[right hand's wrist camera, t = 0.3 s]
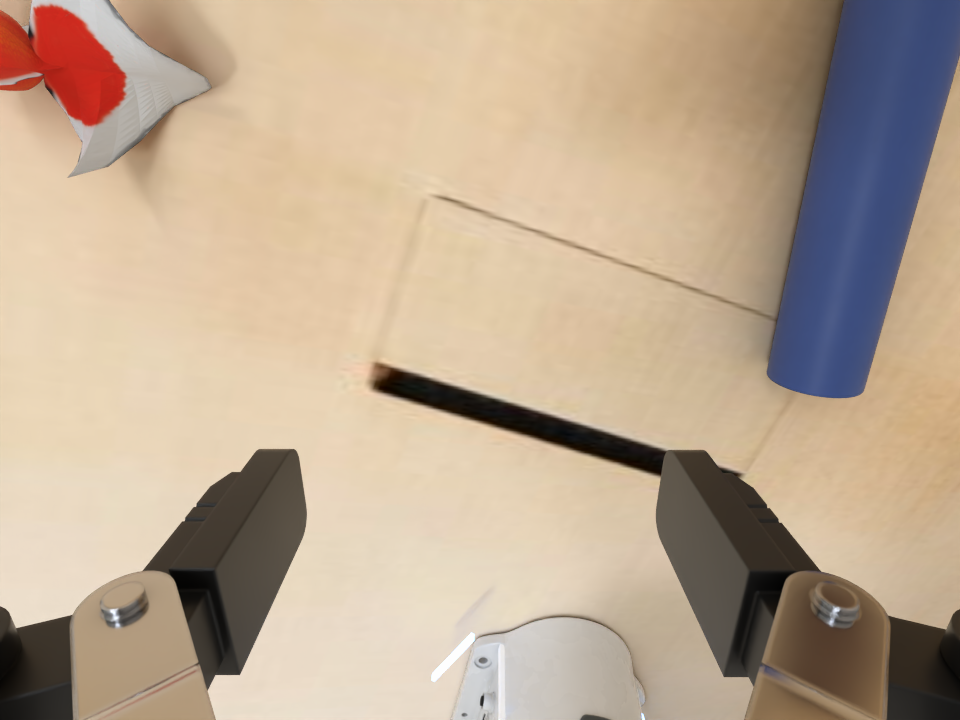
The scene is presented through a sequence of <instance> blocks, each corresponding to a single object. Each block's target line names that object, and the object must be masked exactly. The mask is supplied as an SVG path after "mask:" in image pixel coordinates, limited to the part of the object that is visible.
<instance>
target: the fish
mask: <svg viewBox="0 0 960 720" xmlns="http://www.w3.org/2000/svg"><path fill="white" fill-rule="evenodd" d="M43 78H44V82H45V86H46V88H47V90H48V91H49V92H50V94H51V95H52V96H53V97H54V99H55V100H56V101H57V102H58V104H59V105H60V106H61V108H62V109H63V110H64V111H65V113H66V114H67V115H68V117H69V119H70V122H71V124H72V126H73V128H74V129H75V131H76V133H77V134H78V136H79V138H80V139H81V141H82V149H81V153H80V156H79V160H78V164H77V166H76V167H75V169H74V171H73V172H72V173H71V174H70V175H69V176H68V177H72V176H76V175H79V174H83V173H86V172H90V171H94V170H97V169H101V168H105V167H108V166H110V165H111V164H112V163H113V162H115V161H116V160H117V159H118V158H120V157H121V156H122V155H124V154H125V153H126V152H127V151H129V150H130V149H131V148H132V147H134V146H135V145H136V144H137V143H139V142H140V141H141V140H142V139H143V138H144V137H145V136H146V135H147V134H148V132H149V131H150V130H151V129H152V128H153V127H154V126H155V125H156V124H157V123H158V122H159V121H160V120H161V119H162V118H163V117H164V116H165V115H166V114H167V113H168V112H169V111H170V110H171V109H172V108H173V107H174V106H176V105H178V104H180V103H183V102H185V101H187V100H189V99H191V98H193V97H195V96H197V95H199V94H202V93H204V92H206V91H208V90H209V89H210V88H211V85H210V83H209V81H208V79H207V78H206V77H204V76H202V75H201V74H199V73H197V72H195V71H193V70H192V69H190V68H188V67H186V66H184V65H182V64H180V63H179V62H177V61H175V60H173V59H172V58H170V57H168V56H166V55H164V54H163V53H161V52H159V51H157V50H155V49H153V48H152V47H150V46H148V45H147V44H146V43H145V42H144V41H143V40H142V39H141V38H140V37H139V36H138V35H137V34H136V33H135V32H134V31H133V30H132V29H130V28H129V26H128V25H127V24H126V22H125V21H124V20H123V18H122V17H121V16H120V14H119V13H118V12H117V10H116V9H115V8H114V6H113V5H112V4H111V2H110V1H109V0H32V4H31V12H30V20H29V25H26V26H23V27H21V26H20V25H19V23H18V22H17V21H15V20H14V19H13V18H12V17H10V16H9V15H7V14H6V13H4V12H3V11H1V10H0V90H9V91H24V90H29V89H31V88H33V87H34V86H36V85H37V84H38V83H40V82H41V80H42V79H43Z"/></svg>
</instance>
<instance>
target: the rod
mask: <svg viewBox="0 0 960 720" xmlns="http://www.w3.org/2000/svg"><path fill="white" fill-rule="evenodd" d="M959 56H960V0H844V3H843V8H842V13H841V18H840V22H839V27H838V32H837V37H836V42H835V46H834V51H833V56H832V61H831V66H830V70H829V75H828V80H827V85H826V90H825V94H824V99H823V104H822V109H821V114H820V118H819V123H818V128H817V133H816V138H815V142H814V147H813V152H812V157H811V162H810V166H809V171H808V176H807V181H806V186H805V190H804V195H803V200H802V205H801V210H800V214H799V219H798V224H797V229H796V234H795V238H794V243H793V248H792V253H791V258H790V262H789V267H788V272H787V277H786V281H785V286H784V291H783V296H782V301H781V305H780V310H779V315H778V320H777V325H776V329H775V334H774V339H773V344H772V349H771V353H770V358H769V363H768V368H767V375H768V377H769V378H770V379H771V380H772V381H773V382H775V383H777V384H778V385H780V386H783V387H785V388H787V389H790V390H793V391H796V392H800V393H804V394H808V395H813V396H819V397H827V398H849V397H855V396H858V395H860V394H861V393H863V391H864V389H865V385H866V382H867V378H868V375H869V371H870V368H871V364H872V361H873V357H874V354H875V350H876V347H877V343H878V340H879V336H880V333H881V329H882V326H883V322H884V319H885V315H886V312H887V308H888V305H889V301H890V298H891V294H892V291H893V287H894V284H895V280H896V277H897V273H898V270H899V266H900V263H901V259H902V256H903V252H904V249H905V245H906V242H907V238H908V235H909V231H910V228H911V224H912V221H913V217H914V214H915V210H916V207H917V203H918V200H919V196H920V193H921V189H922V186H923V182H924V179H925V175H926V172H927V168H928V165H929V161H930V158H931V154H932V151H933V147H934V144H935V140H936V137H937V133H938V130H939V126H940V123H941V119H942V116H943V112H944V109H945V105H946V102H947V98H948V95H949V91H950V88H951V84H952V81H953V77H954V74H955V70H956V67H957V63H958V60H959Z"/></svg>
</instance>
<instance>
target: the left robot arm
mask: <svg viewBox="0 0 960 720" xmlns="http://www.w3.org/2000/svg"><path fill="white" fill-rule="evenodd" d="M473 641H474V634H473V633H471V634H470V635H469V636H468V637H467V638H466V639H465V640H464V641H463V642H462V643H461V644H460V645H459V646H458V647H457V648H456V649H455V650H454V652H453V653H452V654H451V655H450V656H449V657H448V658H447V659H446V660H445V661H444V662H443V663H442V664H441V665H440V666H439V667H438V668H437V669H436V670H435V671H434V672H433V673H432V680H433V681H435V680H436V679H437V678H438V677H439V676H440V675H441V674H442V673H443V672H444V671H445V670H446V669H447V668H448V667H449V666H450V665H451V664H452V663H453V662H454V661H455V660H456V659H457V658H458V657H459V656H460V655H461V654H462V653H463V652H464V651H465V650H466V648H467V647H468V646H469V645H470V644H471V643H472V642H473ZM644 703H645V694H644V689H643V687H642V685H641V684H640V682H639V681H638V680H637V678H636V677H635V676H634V673H633V667H632V659H631V655H630V652H629V649H628V648H627V646H626V644H625V643H624V642H623V640H622V639H621V638H620V637H619V636H618V635H617V634H616V633H614V632H613V631H611V630H610V629H608V628H607V627H605V626H603V625H600V624H598V623H595V622H593V621H589V620H585V619H580V618H572V617H556V618H547V619H542V620H538V621H534V622H531V623H528V624H526V625H524V626H521V627H519V628H517V629H515V630H513V631H510V632H507V633H502V634H493V635H487V636H482V637H480V638H478V639H476V640H475V641H474V643H473V646H472V649H471V653H470V656H469V659H468V663H467V666H466V670H465V673H464V676H463V680H462V683H461V687H460V690H459V693H458V697H457V700H456V703H455V707H454V710H453V714H452V717H451V720H645V719H644V716H643V714H642V710H641V706H642V705H643V704H644Z"/></svg>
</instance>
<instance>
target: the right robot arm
mask: <svg viewBox="0 0 960 720" xmlns="http://www.w3.org/2000/svg"><path fill="white" fill-rule="evenodd" d="M306 519H307V510H306V502H305V495H304V488H303V482H302V475H301V468H300V461H299V456H298V453H297V452H296V450H294V449H259V450H257V451H256V452H255V453H254V455H253V456H252V457H251V459H250V460H249V461H248V463H247V464H246V465H245V467H244V468H243V469H242V471H241V472H231V473H230V474H228V475H227V476H225V477H224V478H222V479H221V480H219V481H218V482H217V483H215V484H214V485H212V486H211V487H210V488H209V489H208V490H207V491H206V493H205V494H204V495H203V496H202V498H201V499H200V500H199V501H198V503H197V506H196V507H194V508H193V509H192V510H191V511H190V513H189V514H188V515H187V516H186V518H185V522H182V523H181V524H180V525H179V526H178V528H177V529H176V530H175V531H174V532H173V534H172V535H171V536H170V537H169V539H168V540H167V541H166V542H165V544H164V545H163V546H162V547H161V549H160V550H159V551H158V552H157V554H156V555H155V556H154V557H153V559H152V560H151V561H150V562H149V564H148V565H147V566H146V567H145V569H144V570H143V571H141V572H136V573H131V574H128V575H125V576H122V577H119V578H117V579H115V580H113V581H111V582H109V583H107V584H105V585H103V586H102V587H100V588H98V589H97V590H95V591H94V592H93V593H91V594H90V595H89V596H88V597H87V598H86V599H85V600H83V601H82V602H81V604H80V605H79V606H78V607H77V608H76V610H75V612H74V613H73V615H70V616H66V617H62V618H58V619H54V620H49V621H45V622H41V623H37V624H33V625H28V626H24V627H20V628H16V627H15V625H14V623H13V621H12V618H11V616H10V614H9V612H8V611H7V610H6V609H5V608H3V607H0V720H216V719H215V715H214V712H213V709H212V705H211V702H210V698H209V695H208V689H209V687H210V685H211V683H212V681H213V679H214V677H215V675H240V674H241V671H242V669H243V667H244V665H245V663H246V660H247V658H248V656H249V654H250V652H251V650H252V647H253V645H254V643H255V641H256V639H257V636H258V634H259V632H260V630H261V628H262V626H263V623H264V621H265V619H266V617H267V615H268V612H269V610H270V608H271V606H272V604H273V602H274V599H275V597H276V595H277V593H278V591H279V588H280V586H281V584H282V582H283V580H284V578H285V575H286V573H287V571H288V569H289V567H290V564H291V562H292V560H293V558H294V556H295V554H296V551H297V549H298V547H299V545H300V543H301V540H302V538H303V535H304V532H305V527H306ZM656 524H657V530H658V534H659V537H660V540H661V542H662V544H663V546H664V549H665V551H666V553H667V555H668V557H669V559H670V562H671V564H672V566H673V568H674V570H675V572H676V574H677V577H678V579H679V581H680V583H681V585H682V587H683V590H684V592H685V594H686V596H687V598H688V600H689V603H690V605H691V607H692V609H693V611H694V613H695V615H696V618H697V620H698V622H699V624H700V626H701V628H702V631H703V633H704V635H705V637H706V639H707V641H708V643H709V646H710V648H711V650H712V652H713V654H714V656H715V659H716V661H717V663H718V665H719V667H720V669H721V672H722V674H723V676H724V677H749V678H750V680H751V682H752V684H753V686H754V688H753V691H752V695H751V698H750V702H749V705H748V709H747V712H746V715H745V719H744V720H960V610H957V611H956V612H955V613H954V614H953V616H952V618H951V620H950V623H949V625H948V627H947V629H946V630H945V629H941V628H936V627H932V626H928V625H924V624H920V623H915V622H911V621H907V620H903V619H898V618H895V617H891V616H888V615H887V613H886V612H885V610H884V608H883V607H882V606H881V605H880V604H879V602H878V601H877V600H875V599H874V598H873V597H872V596H871V595H870V594H869V593H867V592H866V591H865V590H863V589H862V588H860V587H858V586H857V585H855V584H853V583H851V582H849V581H847V580H845V579H843V578H841V577H838V576H835V575H832V574H829V573H824V572H821V571H820V570H819V569H818V567H817V566H816V565H815V564H814V562H813V561H812V560H811V559H810V557H809V556H808V555H807V554H806V553H805V551H804V550H803V549H802V548H801V546H800V545H799V544H798V543H797V541H796V540H795V539H794V538H793V536H792V535H791V534H790V533H789V532H788V530H787V529H786V528H785V527H784V525H783V524H782V523H779V521H778V518H777V517H776V515H775V514H774V513H773V512H772V511H771V509H770V508H767V504H766V503H765V502H764V501H763V499H762V498H761V497H760V496H759V495H758V493H757V492H756V491H755V490H754V488H753V487H751V486H750V485H748V484H747V483H745V482H744V481H742V480H741V479H739V478H738V477H736V476H735V475H733V474H732V473H722V471H721V470H720V469H719V467H718V466H717V465H716V463H715V462H714V461H713V460H712V458H711V457H710V456H709V454H708V453H707V452H706V451H705V450H668V451H667V452H666V454H665V457H664V461H663V467H662V474H661V481H660V487H659V494H658V501H657V507H656Z"/></svg>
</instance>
